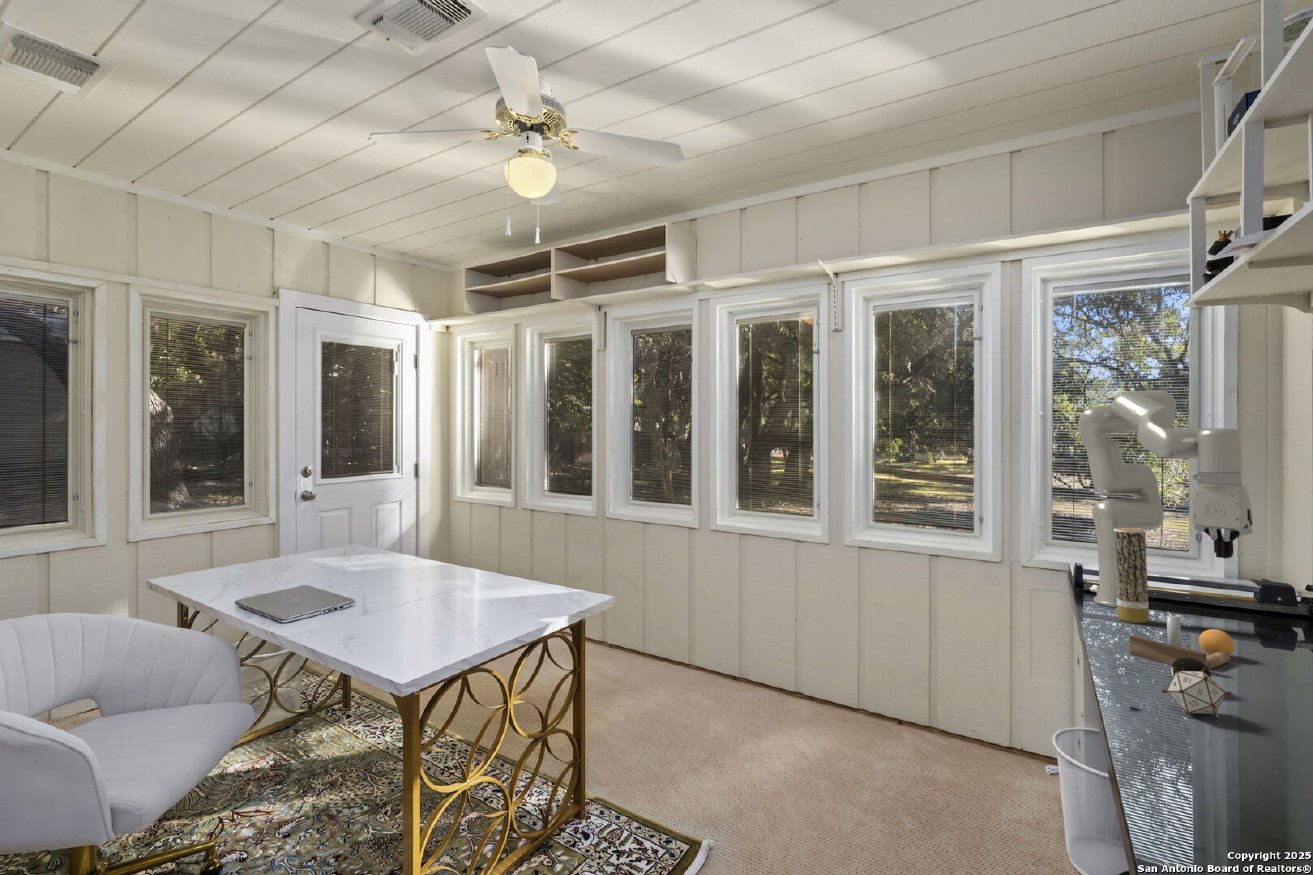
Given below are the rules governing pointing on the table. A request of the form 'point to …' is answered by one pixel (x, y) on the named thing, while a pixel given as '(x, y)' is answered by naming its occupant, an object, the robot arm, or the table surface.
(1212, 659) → the maple pin
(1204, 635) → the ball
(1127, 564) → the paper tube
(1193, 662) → the billiard ball
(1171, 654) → the brown wooden plank
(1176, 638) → the grey pin
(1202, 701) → the game die
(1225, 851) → the table surface
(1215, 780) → the table surface
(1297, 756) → the table surface
